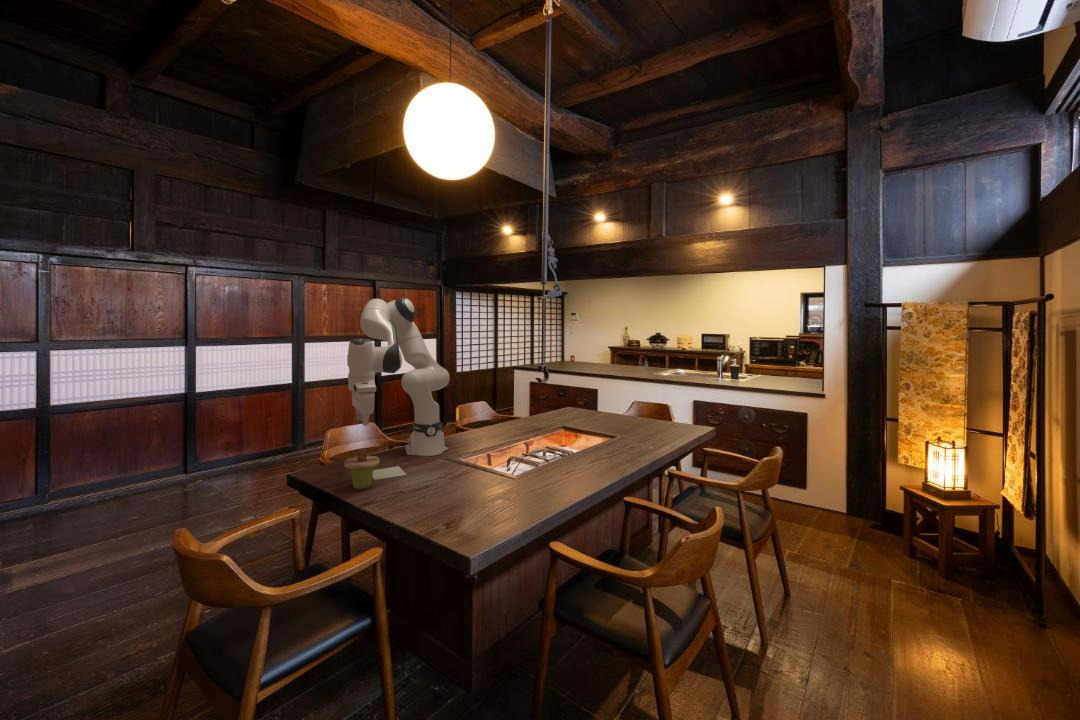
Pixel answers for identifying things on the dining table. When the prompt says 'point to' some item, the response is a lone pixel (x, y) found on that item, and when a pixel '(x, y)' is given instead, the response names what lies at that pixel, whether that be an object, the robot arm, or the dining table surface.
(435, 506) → the dining table surface
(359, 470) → the plant pot
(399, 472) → the mat
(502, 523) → the dining table surface
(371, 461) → the lid
